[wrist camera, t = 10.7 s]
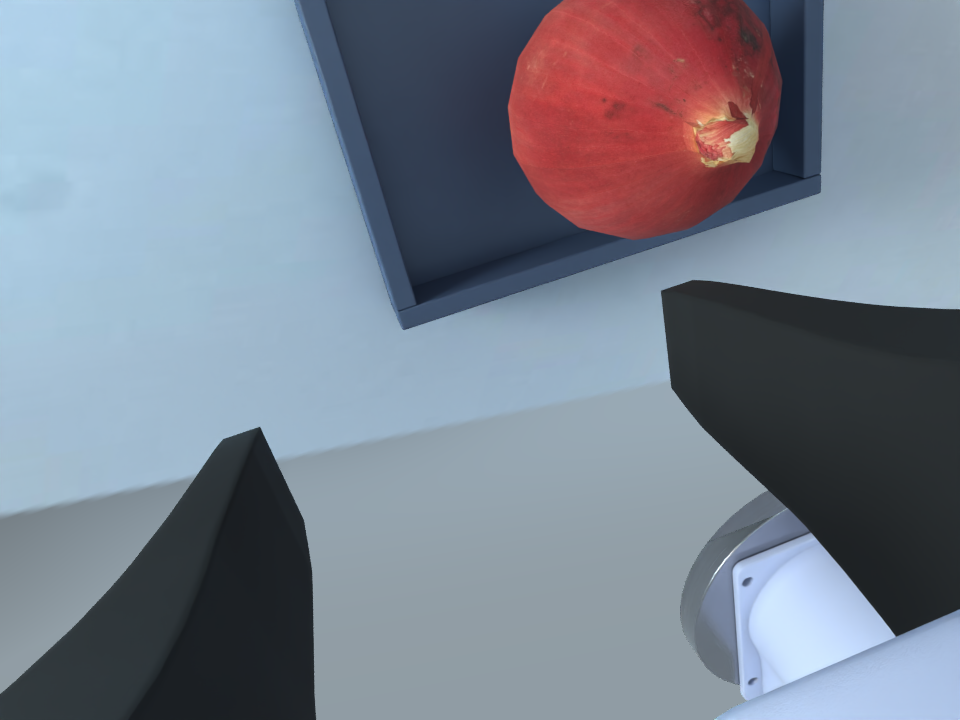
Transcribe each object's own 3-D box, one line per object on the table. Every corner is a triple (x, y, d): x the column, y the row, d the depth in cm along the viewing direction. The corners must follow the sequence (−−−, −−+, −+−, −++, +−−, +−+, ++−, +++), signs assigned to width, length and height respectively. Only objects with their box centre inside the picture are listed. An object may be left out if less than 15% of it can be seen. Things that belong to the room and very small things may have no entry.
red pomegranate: (562, -79, 17) (762, -153, 10) (709, 66, 20) (950, 88, 13) (433, 125, 18) (531, 186, 11) (587, 237, 21) (744, 342, 14)
